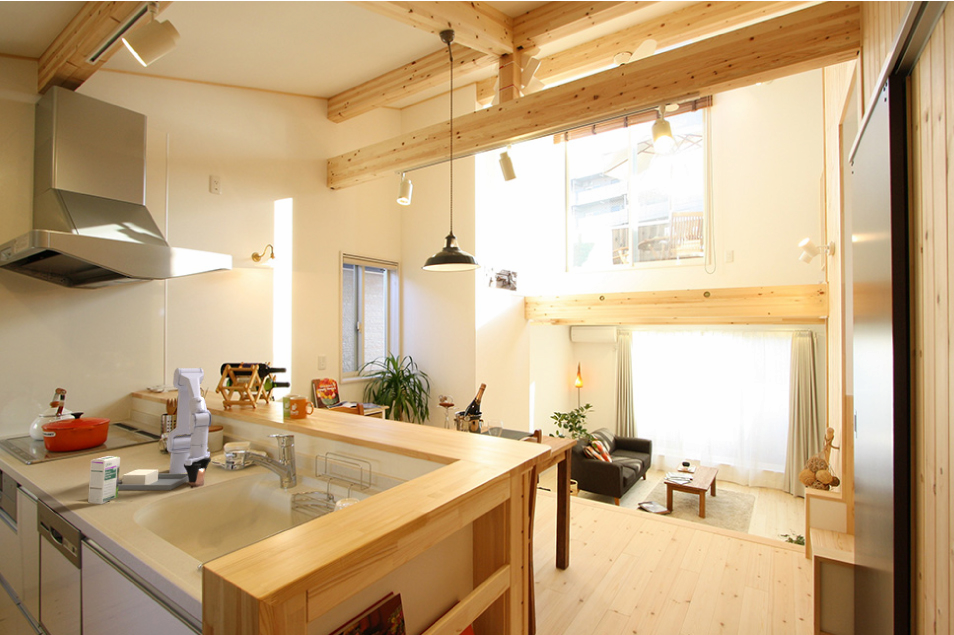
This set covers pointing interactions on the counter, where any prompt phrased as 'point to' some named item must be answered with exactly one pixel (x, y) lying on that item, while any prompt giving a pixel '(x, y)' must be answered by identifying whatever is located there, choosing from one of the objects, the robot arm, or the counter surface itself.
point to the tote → (158, 483)
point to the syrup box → (104, 479)
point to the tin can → (199, 478)
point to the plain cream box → (140, 477)
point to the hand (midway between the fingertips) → (196, 480)
